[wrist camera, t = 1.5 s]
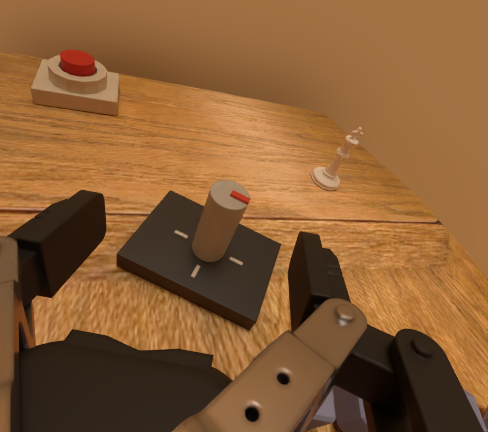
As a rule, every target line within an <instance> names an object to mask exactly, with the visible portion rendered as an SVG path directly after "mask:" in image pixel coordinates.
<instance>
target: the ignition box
mask: <svg viewBox="0 0 488 432" xmlns="http://www.w3.org/2000/svg"><path fill="white" fill-rule="evenodd" d="M31 92H32V97H33V102H34V104H40V105H47V106H53V107H60V108H67V109H74V110H81V111H87V112H94V113H101V114H108V115H114V116H117V111H118V96H119V74H117V73H112V72H107V70H106V69H105V67H104V66H103V65H102V64H101V63H99V62H97V61H95V74H94V75H92V76H86V77H79V76H74V75H70V74H68V73H66V72H64V71H63V70H62V68H61V60H60V55H58V56H55V57H52V58H50V60H45V59H43V60H42V62H41V64H40V67H39V69H38V72H37V74H36V77H35V79H34V82H33V84H32V86H31Z"/></svg>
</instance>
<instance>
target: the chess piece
mask: <svg viewBox="0 0 488 432" xmlns="http://www.w3.org/2000/svg"><path fill="white" fill-rule="evenodd" d="M361 130H362V128H361V127H358V129H357V130H356V131H354V130H352V132H351V134H352V135H353V136H350V135H349V136H346V138H345V142H344V145H343V148H338V149H337V153H338V155H337V157H336V158H335V159H334V160H333V161H332V162H331V164H330V165H329V166H328V167H316V168H315V169H314V170H313V171H312V172H311V177H312V179H313V181H314V182H315V183H316V184H317V185H318V186H320V187H321V188H323V189H326V190H330V191H333V190H336V189H337V188H338V186H339V185H340V180H339V178H338V176H337V175H336V171H337V169H338V168H339V166H340V164H341V162H342V160H343V158H349V157H350V153H349V152H348V151H350V150H351V149H352V148H354V147H355V146H357V145H358V140H357V139H356V138H357V136H362V135H363V133H362V132H361Z"/></svg>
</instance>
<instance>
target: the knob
mask: <svg viewBox="0 0 488 432" xmlns="http://www.w3.org/2000/svg"><path fill="white" fill-rule="evenodd" d="M249 201H250V198H249V194H248V192H247V191H246V189H245V188H244V187H243V186H241V185H240V184H238V183H236V182H234V181H230V180H220V181H217V182H215V183H214V184H213V185H212V186H211V188H210V191H209V195H208V198H207V201H206V204H205V207H204V210H203V213H202V216H201V219H200V222H199V225H198V228H197V231H196V234H195V237H194V240H193V243H192V250H193V252H194V254H195V255H196V256H197V257H198V258H199V259H201V260H203V261H205V262H216V261H218V260H220V259H221V258H222V257H223V255H224V253H225V251H226V249H227V247H228V245H229V243H230V241H231V239H232V237H233V235H234V233H235V231H236V229H237V227H238V224H239V222H240V220H241V218H242V216H243V214H244V212H245V210H246V208H247V206H248V204H249Z"/></svg>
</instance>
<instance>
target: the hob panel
mask: <svg viewBox="0 0 488 432" xmlns="http://www.w3.org/2000/svg"><path fill="white" fill-rule="evenodd" d="M203 210H204V206H202V205H200V204H198V203H196V202H194V201H192V200H190V199H187V198H185V197H183V196H181V195H179V194H177V193H175V192H173V191H171V190H170V191H169V192H168V194H167V195H166V196H165V197H164V198H163V200H162V201H161V202H160V203H159V204H158V205H157V207H156V208H155V209H154V210H153V211H152V213H151V214H150V215H149V216H148V217H147V219H146V220H145V221H144V222H143V223H142V225H141V226H140V227H139V228H138V229H137V230H136V232H135V233H134V234H133V235H132V236H131V238H130V239H129V240H128V241H127V242H126V244H125V245H124V246H123V247H122V248H121V250H120V251H119V252H118V253H117V266H120V267H122V268H124V269H126V270H128V271H130V272H132V273H134V274H136V275H138V276H140V277H142V278H144V279H146V280H148V281H150V282H152V283H154V284H156V285H158V286H160V287H162V288H165V289H167V290H169V291H171V292H173V293H175V294H177V295H179V296H181V297H183V298H185V299H187V300H189V301H191V302H193V303H195V304H197V305H199V306H201V307H203V308H205V309H208V310H210V311H212V312H214V313H216V314H218V315H220V316H222V317H224V318H226V319H228V320H230V321H232V322H234V323H236V324H238V325H240V326H242V327H244V328H246V329H248V330H250V328H251V327H252V326H253V325H254V324H255V323H256V321H257V318H258V315H259V312H260V309H261V306H262V302H263V299H264V296H265V293H266V290H267V287H268V284H269V281H270V277H271V274H272V271H273V268H274V265H275V262H276V259H277V255H278V252H279V249H280V246H281V244H280V243H278V242H275V241H273V240H271V239H269V238H267V237H265V236H263V235H261V234H259V233H257V232H255V231H253V230H251V229H249V228H247V227H245V226H243V225H241V224H238V227H237V229H236V231H235V233H234V235H233V237H232V239H231V241H230V243H229V245H228V247H227V249H226V251H225V253H224V255H223V257H222V258H221V259H220V260H218V261H216V262H205V261H203V260H201V259H199V258H198V257H197V256H196V255H195V254H194V252H193V250H192V243H193V240H194V237H195V234H196V231H197V228H198V225H199V222H200V219H201V216H202V213H203Z"/></svg>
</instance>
